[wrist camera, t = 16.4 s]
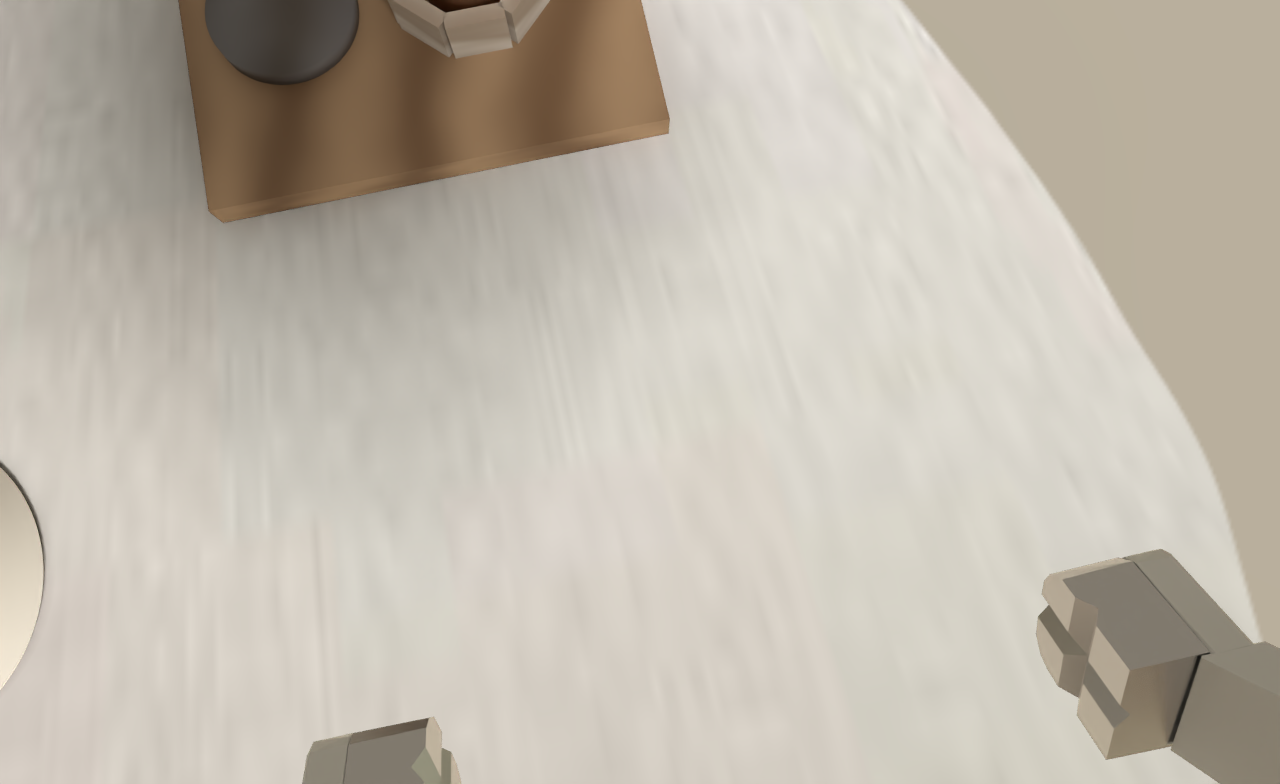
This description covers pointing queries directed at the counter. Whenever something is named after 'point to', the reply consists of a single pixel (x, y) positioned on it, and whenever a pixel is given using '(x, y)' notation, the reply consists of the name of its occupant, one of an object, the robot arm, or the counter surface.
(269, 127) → the carrier board
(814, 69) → the counter surface
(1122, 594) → the robot arm
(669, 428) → the counter surface
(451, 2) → the hub peg
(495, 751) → the counter surface
